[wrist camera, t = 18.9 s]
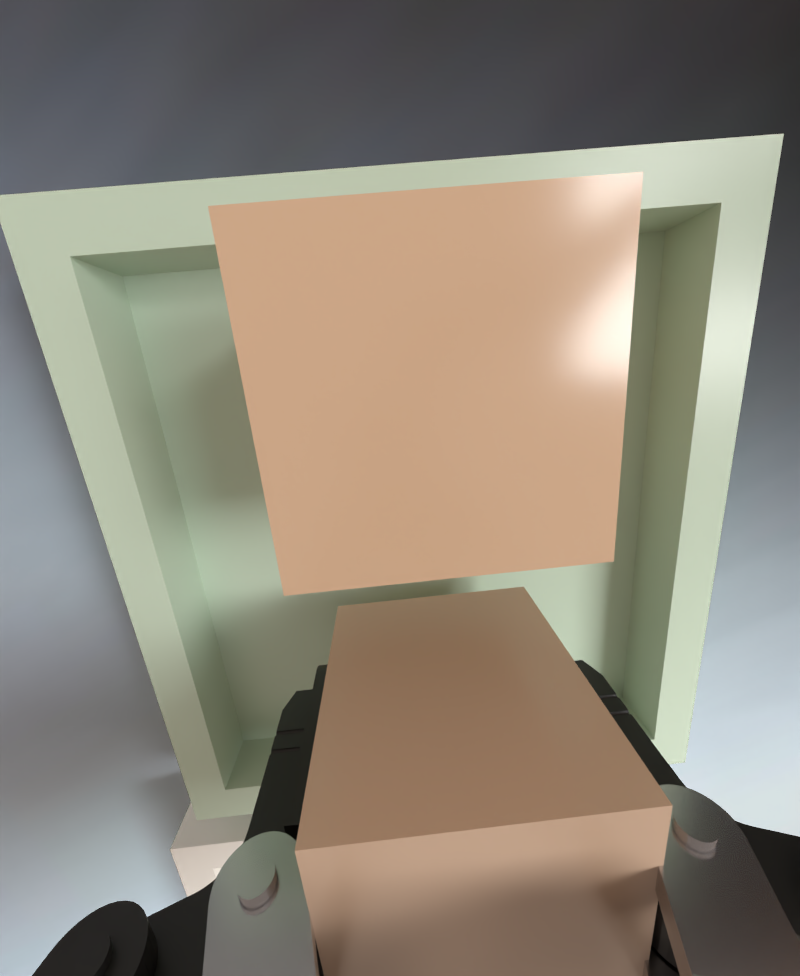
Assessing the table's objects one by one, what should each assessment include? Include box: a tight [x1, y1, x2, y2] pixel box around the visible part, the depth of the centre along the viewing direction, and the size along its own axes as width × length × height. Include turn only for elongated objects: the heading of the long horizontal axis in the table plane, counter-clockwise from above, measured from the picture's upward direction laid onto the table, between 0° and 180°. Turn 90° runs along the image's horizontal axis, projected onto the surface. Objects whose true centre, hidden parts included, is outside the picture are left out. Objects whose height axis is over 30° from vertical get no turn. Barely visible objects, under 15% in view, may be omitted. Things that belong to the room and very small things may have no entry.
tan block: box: [295, 587, 673, 976], centre depth 8 cm, size 4×4×5 cm
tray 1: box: [170, 803, 253, 897], centre depth 15 cm, size 14×14×2 cm
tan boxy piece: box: [208, 172, 643, 596], centre depth 7 cm, size 4×4×5 cm
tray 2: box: [0, 134, 784, 820], centre depth 10 cm, size 14×15×2 cm
